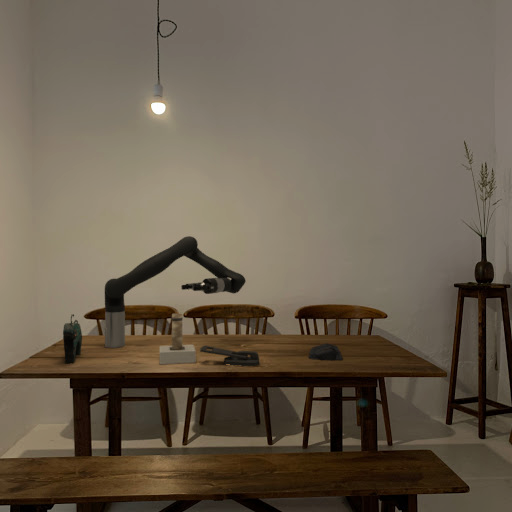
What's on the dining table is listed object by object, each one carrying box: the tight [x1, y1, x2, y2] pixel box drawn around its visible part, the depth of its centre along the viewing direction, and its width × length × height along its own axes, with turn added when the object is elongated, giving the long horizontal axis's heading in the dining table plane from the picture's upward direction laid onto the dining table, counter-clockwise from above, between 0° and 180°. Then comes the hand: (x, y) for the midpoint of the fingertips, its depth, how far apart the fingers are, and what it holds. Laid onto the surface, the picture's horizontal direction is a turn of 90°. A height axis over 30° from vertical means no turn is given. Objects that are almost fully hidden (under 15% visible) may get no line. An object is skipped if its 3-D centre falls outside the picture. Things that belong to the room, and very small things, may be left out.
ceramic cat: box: [62, 313, 83, 365], centre depth 207 cm, size 20×6×20 cm, turn 9°
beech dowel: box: [171, 312, 184, 350], centre depth 206 cm, size 5×5×20 cm
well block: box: [159, 344, 197, 365], centre depth 206 cm, size 15×13×5 cm
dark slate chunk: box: [307, 343, 343, 361], centre depth 217 cm, size 15×22×5 cm
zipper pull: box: [199, 345, 260, 367], centre depth 200 cm, size 9×7×25 cm
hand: (187, 288), depth 220 cm, fingers open, 8 cm apart
